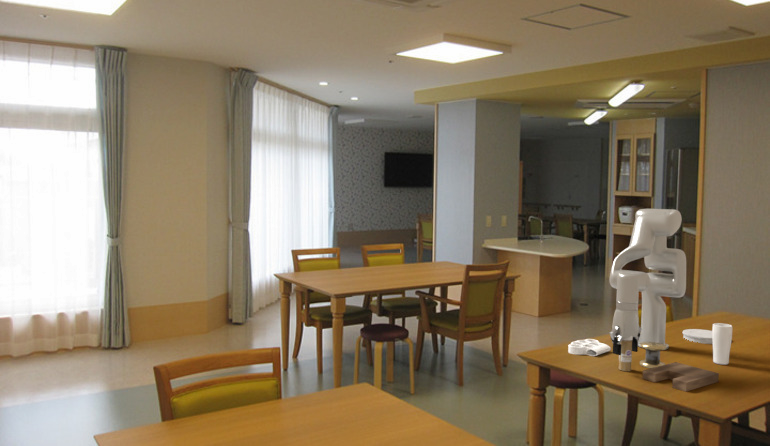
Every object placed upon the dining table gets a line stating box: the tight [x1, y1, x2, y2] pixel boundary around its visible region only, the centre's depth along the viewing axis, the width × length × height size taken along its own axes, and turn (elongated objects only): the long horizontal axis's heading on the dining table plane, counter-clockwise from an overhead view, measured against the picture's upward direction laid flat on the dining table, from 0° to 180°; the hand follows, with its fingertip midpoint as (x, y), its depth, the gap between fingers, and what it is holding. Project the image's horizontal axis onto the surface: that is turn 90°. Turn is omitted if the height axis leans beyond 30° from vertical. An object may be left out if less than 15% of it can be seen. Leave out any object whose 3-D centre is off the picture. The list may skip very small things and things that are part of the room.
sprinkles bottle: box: [618, 336, 633, 372], centre depth 227 cm, size 5×5×13 cm
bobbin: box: [639, 342, 667, 369], centre depth 233 cm, size 9×9×8 cm
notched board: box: [642, 361, 720, 392], centre depth 216 cm, size 16×20×3 cm
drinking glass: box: [711, 322, 733, 366], centre depth 237 cm, size 7×7×15 cm
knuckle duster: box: [567, 338, 612, 357], centre depth 254 cm, size 3×18×15 cm
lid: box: [682, 328, 713, 345], centre depth 276 cm, size 17×20×3 cm
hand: (625, 352), depth 227 cm, fingers open, 9 cm apart
